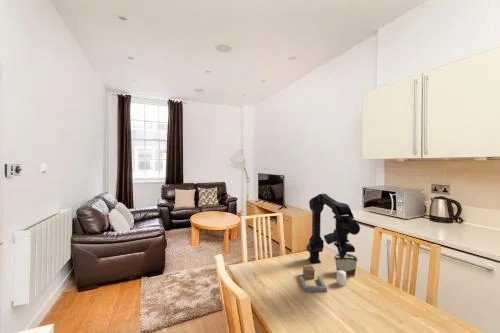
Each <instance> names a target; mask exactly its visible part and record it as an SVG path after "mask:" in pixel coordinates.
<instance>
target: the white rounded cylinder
mask: <svg viewBox="0 0 500 333" xmlns="http://www.w3.org/2000/svg"><path fill="white" fill-rule="evenodd" d="M336 284H337V285H338V286H340V287H346V285H347V275H346V272H345V271H342V270H338V271H337V270H336Z"/></svg>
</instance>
